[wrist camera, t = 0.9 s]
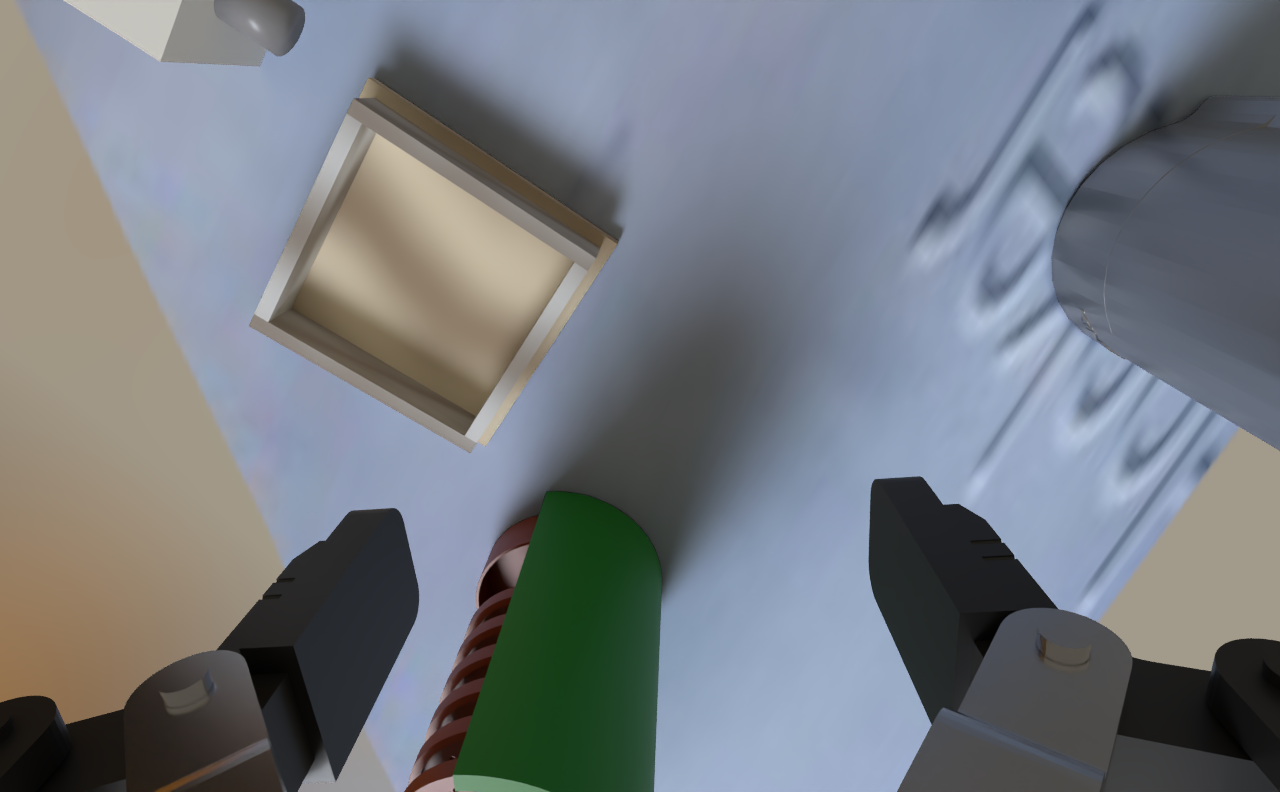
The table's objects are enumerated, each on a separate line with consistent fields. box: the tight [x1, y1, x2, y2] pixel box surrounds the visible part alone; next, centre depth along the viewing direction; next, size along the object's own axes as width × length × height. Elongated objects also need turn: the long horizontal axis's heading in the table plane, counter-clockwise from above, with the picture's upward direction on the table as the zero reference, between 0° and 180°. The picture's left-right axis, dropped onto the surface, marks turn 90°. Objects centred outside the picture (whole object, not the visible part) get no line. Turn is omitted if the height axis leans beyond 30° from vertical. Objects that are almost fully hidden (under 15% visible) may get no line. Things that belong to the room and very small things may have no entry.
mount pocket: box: [249, 78, 618, 453], centre depth 30 cm, size 11×11×3 cm
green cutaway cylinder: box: [404, 491, 662, 792], centre depth 28 cm, size 10×9×20 cm
